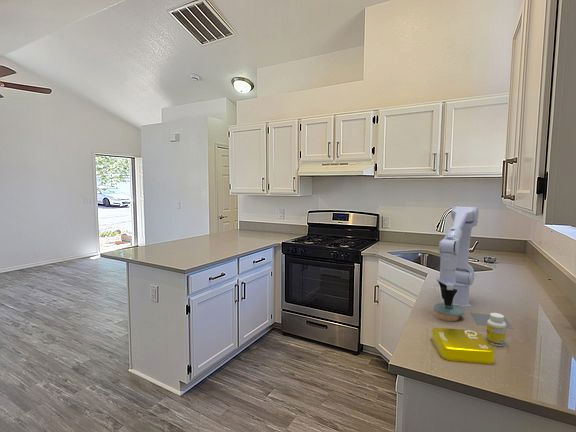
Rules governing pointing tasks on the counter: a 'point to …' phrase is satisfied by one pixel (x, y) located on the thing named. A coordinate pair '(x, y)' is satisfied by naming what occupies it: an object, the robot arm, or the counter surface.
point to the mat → (486, 319)
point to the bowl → (445, 316)
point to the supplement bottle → (496, 329)
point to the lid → (449, 309)
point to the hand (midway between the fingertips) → (446, 302)
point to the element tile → (462, 345)
